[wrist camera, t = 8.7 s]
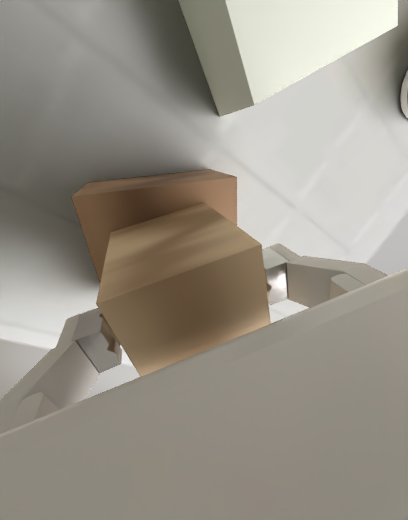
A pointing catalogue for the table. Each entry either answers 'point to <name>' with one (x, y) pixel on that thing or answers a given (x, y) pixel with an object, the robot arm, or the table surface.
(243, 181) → the table surface
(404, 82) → the supplement bottle
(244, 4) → the white block
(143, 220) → the walnut block
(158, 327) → the oak block
